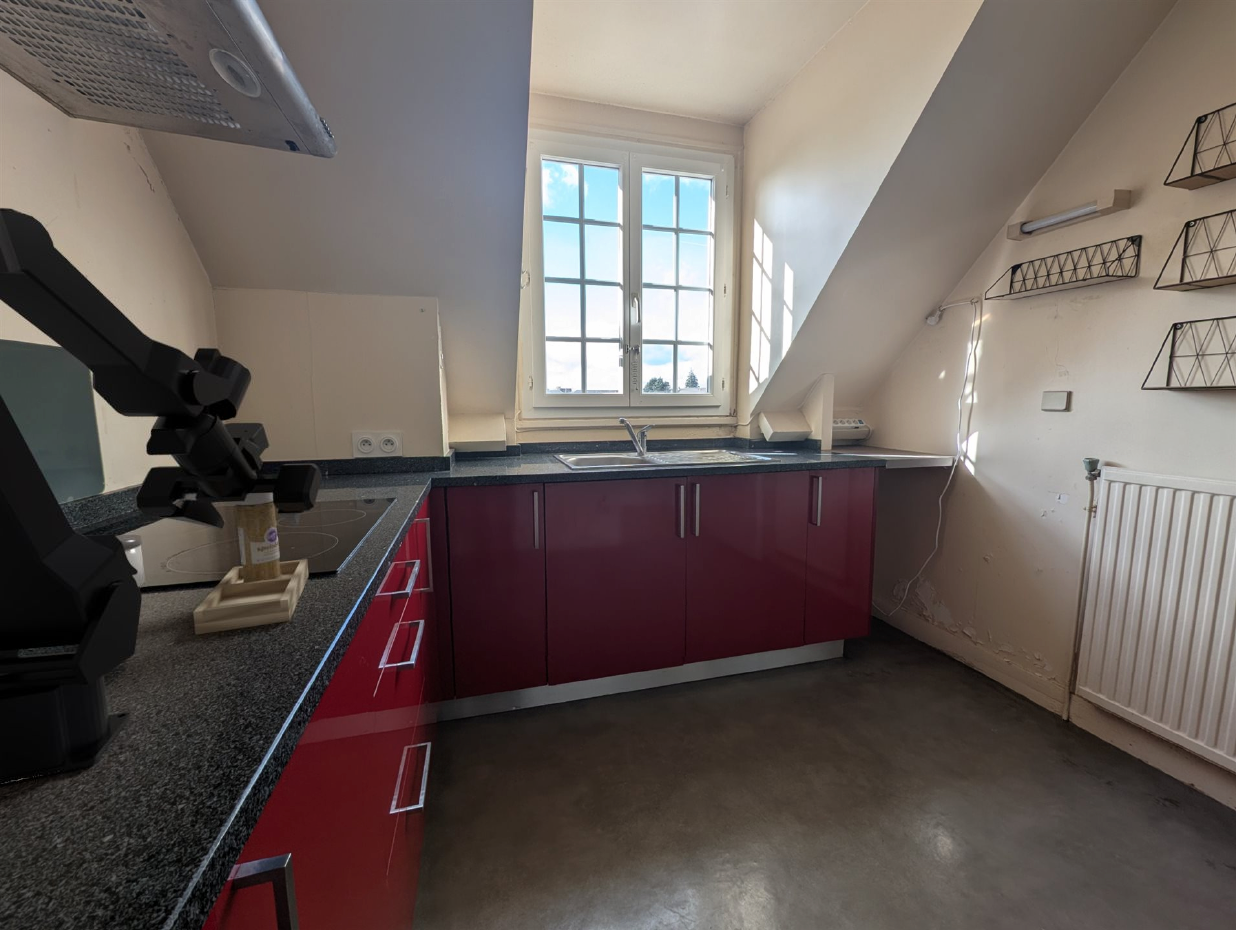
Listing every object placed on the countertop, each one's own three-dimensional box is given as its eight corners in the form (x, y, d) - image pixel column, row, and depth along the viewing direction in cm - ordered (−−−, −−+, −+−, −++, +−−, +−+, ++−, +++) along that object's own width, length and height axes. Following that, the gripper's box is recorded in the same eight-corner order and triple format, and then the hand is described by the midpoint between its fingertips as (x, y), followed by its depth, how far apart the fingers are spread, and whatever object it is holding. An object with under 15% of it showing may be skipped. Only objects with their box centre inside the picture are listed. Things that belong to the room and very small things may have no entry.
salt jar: (135, 592, 71) (129, 543, 70) (75, 599, 68) (68, 548, 68) (153, 578, 77) (148, 533, 76) (98, 584, 74) (92, 537, 73)
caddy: (289, 620, 62) (288, 599, 62) (195, 634, 58) (193, 611, 58) (308, 576, 78) (307, 559, 77) (235, 585, 74) (233, 566, 74)
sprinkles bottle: (272, 588, 69) (263, 490, 68) (235, 590, 69) (225, 491, 67) (288, 576, 74) (280, 484, 72) (254, 578, 73) (244, 485, 71)
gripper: (312, 401, 65) (344, 475, 77) (140, 400, 61) (203, 479, 73) (290, 470, 58) (329, 540, 70) (96, 474, 55) (173, 547, 67)
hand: (260, 524), depth 70 cm, fingers open, 9 cm apart
